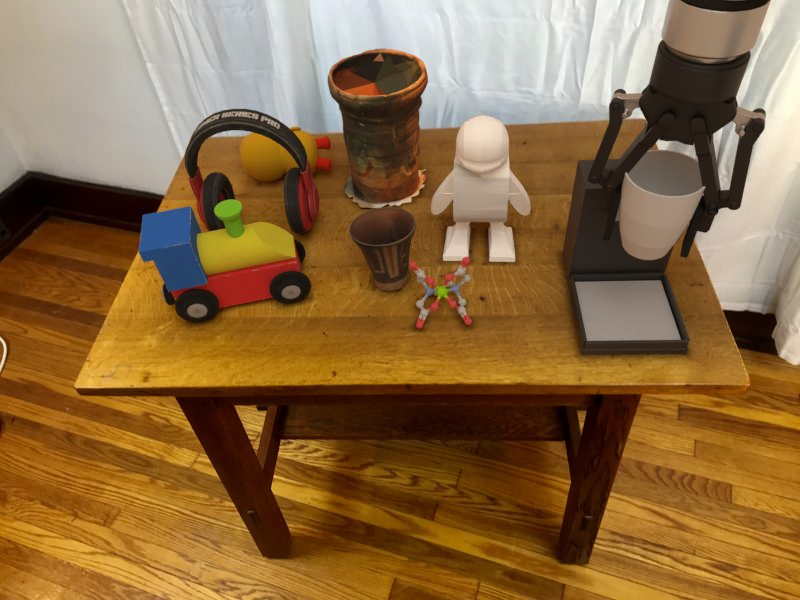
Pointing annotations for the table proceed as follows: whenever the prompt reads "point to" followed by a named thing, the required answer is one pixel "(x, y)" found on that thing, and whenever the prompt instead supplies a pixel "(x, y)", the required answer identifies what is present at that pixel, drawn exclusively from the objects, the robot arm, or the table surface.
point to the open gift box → (616, 283)
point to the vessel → (381, 124)
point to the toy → (280, 155)
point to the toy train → (221, 261)
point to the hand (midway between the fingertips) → (646, 240)
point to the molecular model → (442, 291)
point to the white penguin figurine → (481, 190)
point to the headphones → (217, 186)
